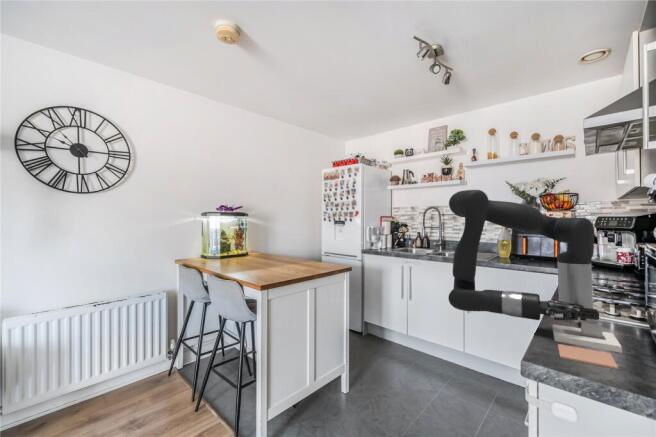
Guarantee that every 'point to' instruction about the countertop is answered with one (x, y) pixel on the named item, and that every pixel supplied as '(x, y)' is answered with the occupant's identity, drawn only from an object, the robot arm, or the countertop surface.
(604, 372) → the countertop surface
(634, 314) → the countertop surface
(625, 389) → the countertop surface
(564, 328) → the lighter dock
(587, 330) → the lighter
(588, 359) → the mat
